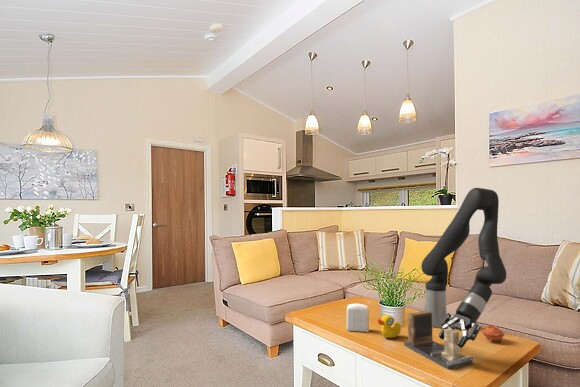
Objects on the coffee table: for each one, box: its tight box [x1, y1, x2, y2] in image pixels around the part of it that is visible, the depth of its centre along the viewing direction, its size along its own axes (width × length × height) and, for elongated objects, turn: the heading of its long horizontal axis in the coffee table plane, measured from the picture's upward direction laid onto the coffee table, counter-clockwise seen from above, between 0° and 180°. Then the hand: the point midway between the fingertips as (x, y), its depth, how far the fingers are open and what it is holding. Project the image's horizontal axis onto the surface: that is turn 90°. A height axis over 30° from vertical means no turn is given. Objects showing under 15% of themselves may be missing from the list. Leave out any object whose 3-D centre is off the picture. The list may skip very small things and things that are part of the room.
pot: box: [482, 325, 505, 344], centre depth 148 cm, size 8×8×7 cm
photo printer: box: [346, 303, 370, 333], centre depth 162 cm, size 10×4×12 cm, turn 81°
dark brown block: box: [407, 310, 434, 345], centre depth 143 cm, size 4×10×12 cm, turn 112°
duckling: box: [377, 314, 401, 339], centre depth 152 cm, size 11×5×10 cm, turn 109°
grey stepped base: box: [403, 340, 474, 370], centre depth 135 cm, size 23×12×3 cm, turn 22°
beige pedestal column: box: [442, 329, 464, 360], centre depth 128 cm, size 5×5×10 cm
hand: (449, 342), depth 128 cm, fingers open, 8 cm apart
